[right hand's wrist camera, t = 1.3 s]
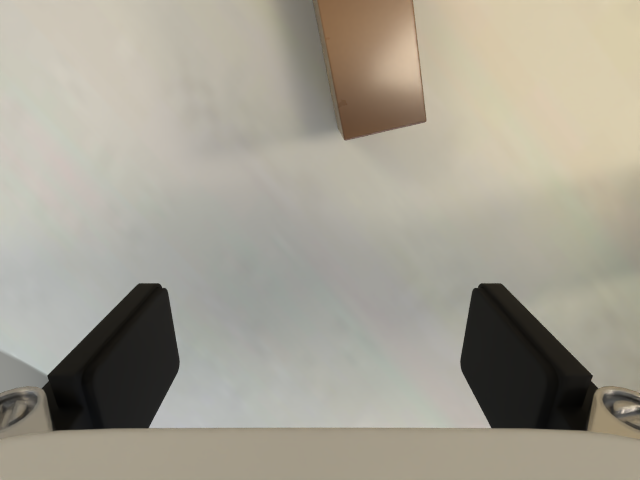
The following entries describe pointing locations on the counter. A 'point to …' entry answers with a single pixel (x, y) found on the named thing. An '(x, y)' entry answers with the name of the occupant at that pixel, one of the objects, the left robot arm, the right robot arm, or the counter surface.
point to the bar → (371, 64)
